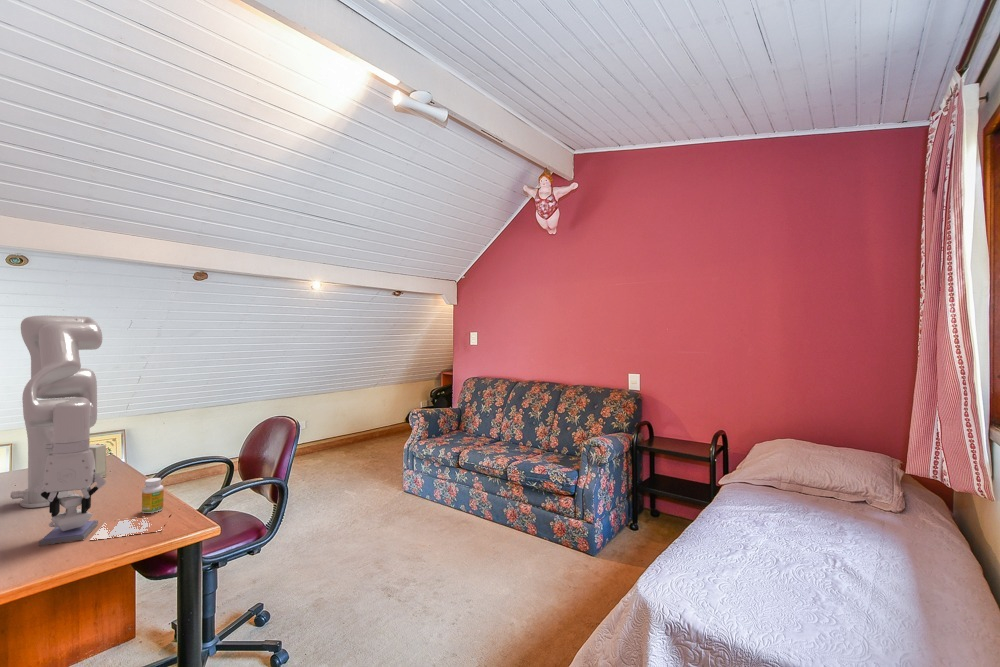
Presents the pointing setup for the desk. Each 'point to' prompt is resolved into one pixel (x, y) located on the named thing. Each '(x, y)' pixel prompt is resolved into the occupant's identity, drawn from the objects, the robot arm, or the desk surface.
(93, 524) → the ink pad
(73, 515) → the stamp
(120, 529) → the paper
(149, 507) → the supplement bottle
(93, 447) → the skincare box
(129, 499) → the desk surface
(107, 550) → the desk surface
